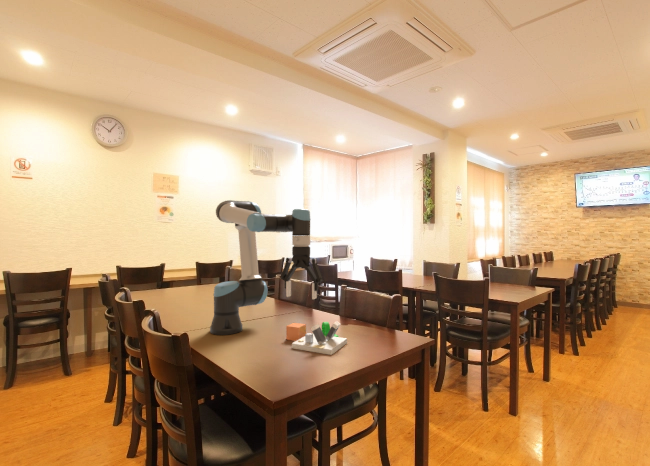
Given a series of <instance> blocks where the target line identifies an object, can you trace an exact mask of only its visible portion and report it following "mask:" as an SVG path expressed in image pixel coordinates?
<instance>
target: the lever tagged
mask: <svg viewBox="0 0 650 466" xmlns="http://www.w3.org/2000/svg"><path fill="white" fill-rule="evenodd" d="M310 329H311V332H312V333H313V334H314V336H315V338H316V340H317V342H318V344H319V345H321V344H323V343H324V342H326V338H325V336H324V334H323V332H322V327H321V325H320V323H319V322H318V323H317V324H315V325H313V326H310Z"/></svg>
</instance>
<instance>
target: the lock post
mask: <svg viewBox="0 0 650 466" xmlns="http://www.w3.org/2000/svg"><path fill="white" fill-rule="evenodd" d="M312 333H313V332H312ZM312 333H311V332H306V334H305V343H309V344H311V343H313V334H312Z"/></svg>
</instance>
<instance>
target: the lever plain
mask: <svg viewBox="0 0 650 466" xmlns="http://www.w3.org/2000/svg"><path fill="white" fill-rule="evenodd" d="M340 326H341V323H340V322H339V321H338V320H336V321H334V322H333V323H332V325H331V326H330V330H329V332H328V334H327V336H326V340H329V339H331V338H333V337H334V335H335V334H336V333H337V332H338V330H339V328H340Z"/></svg>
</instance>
